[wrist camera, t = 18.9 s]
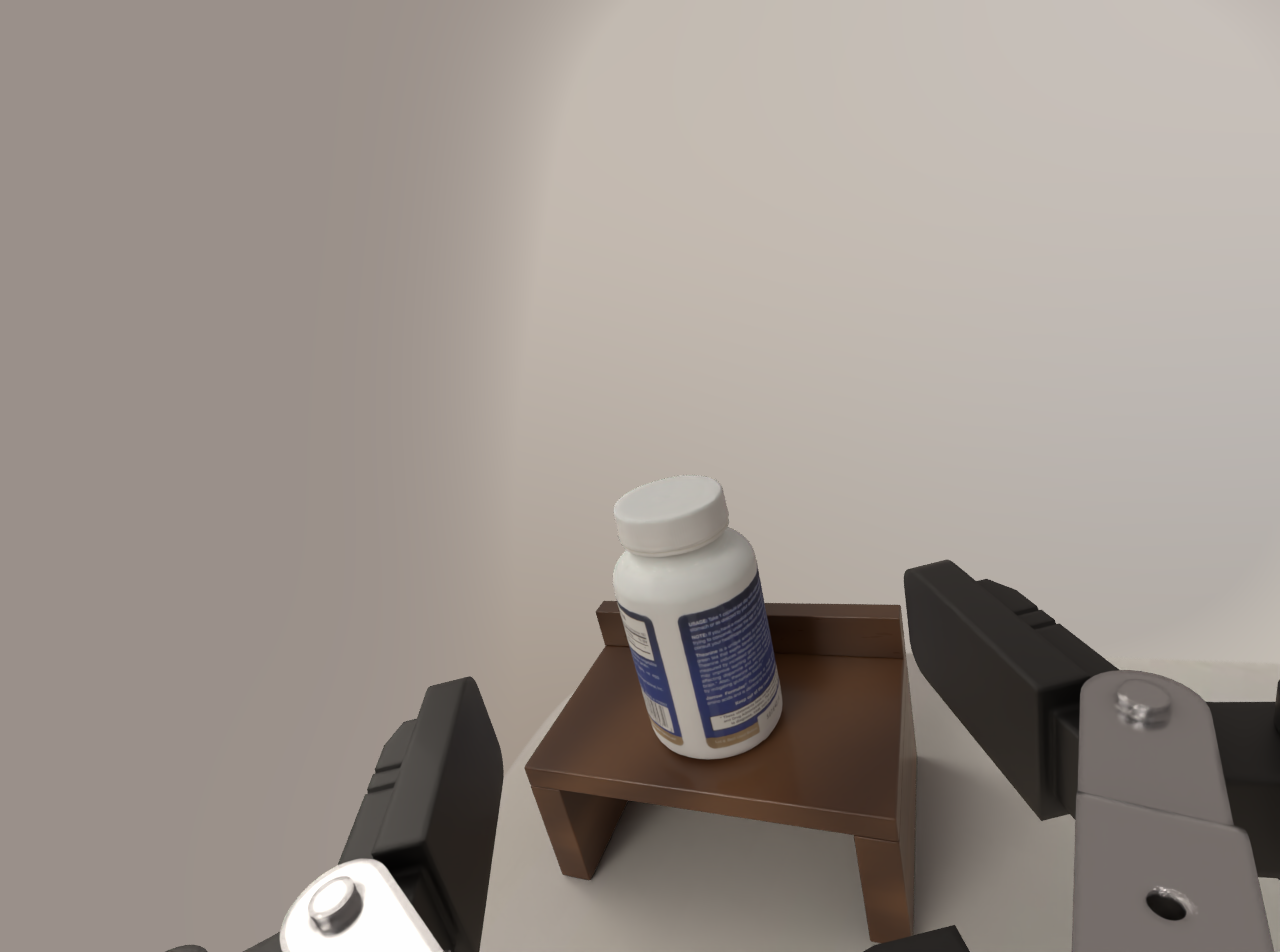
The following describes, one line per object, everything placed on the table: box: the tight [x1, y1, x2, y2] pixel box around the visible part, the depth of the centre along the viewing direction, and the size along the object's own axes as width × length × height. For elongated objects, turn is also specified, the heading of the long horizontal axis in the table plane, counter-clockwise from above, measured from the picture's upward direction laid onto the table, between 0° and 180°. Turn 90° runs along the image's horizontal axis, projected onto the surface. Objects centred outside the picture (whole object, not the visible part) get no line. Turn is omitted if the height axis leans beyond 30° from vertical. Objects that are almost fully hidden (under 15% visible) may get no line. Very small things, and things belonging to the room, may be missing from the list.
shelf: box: [525, 601, 917, 944], centre depth 28 cm, size 14×9×8 cm, turn 68°
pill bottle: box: [613, 475, 783, 760], centre depth 25 cm, size 5×5×10 cm
